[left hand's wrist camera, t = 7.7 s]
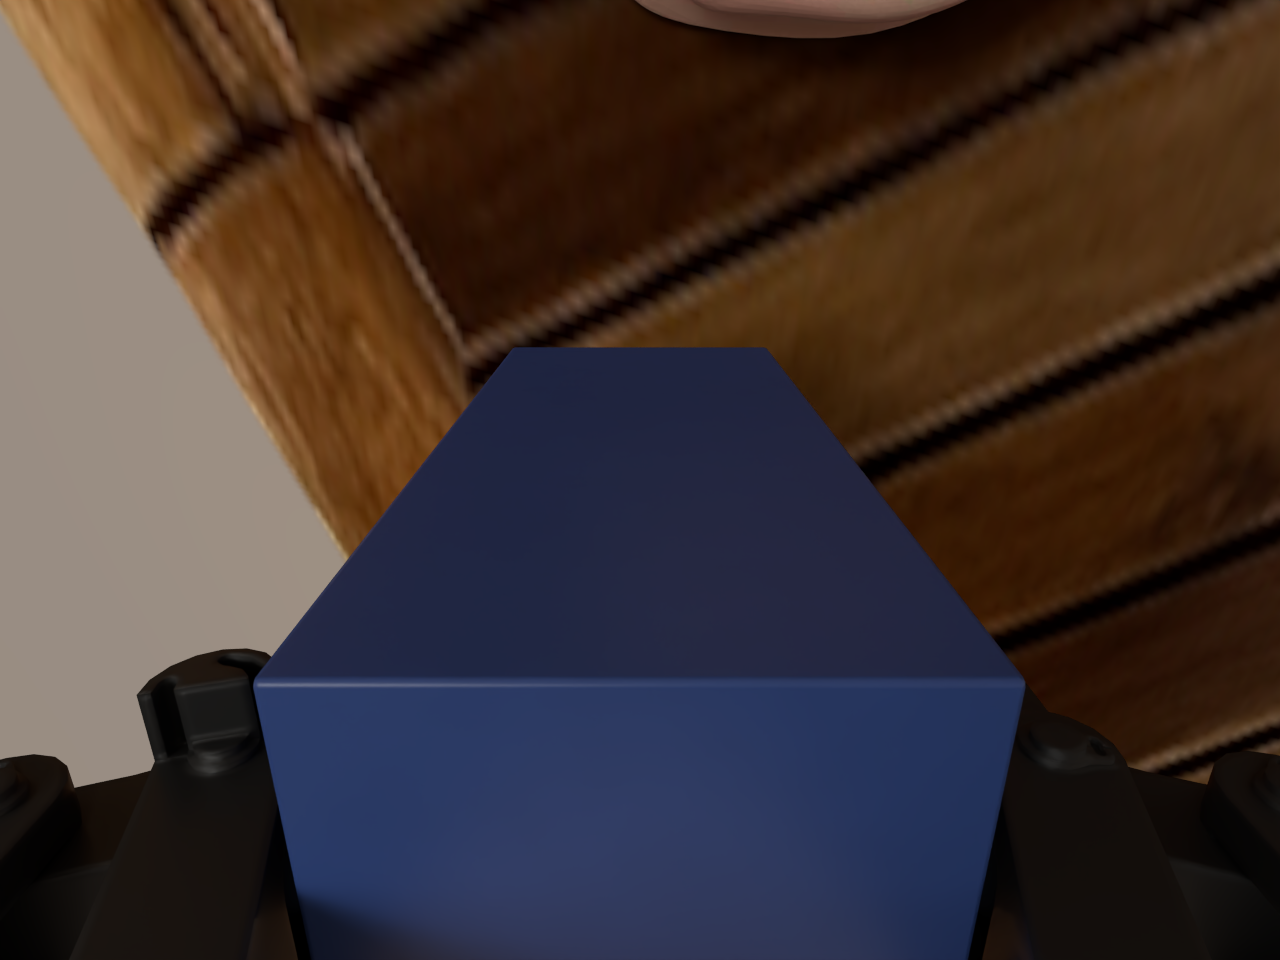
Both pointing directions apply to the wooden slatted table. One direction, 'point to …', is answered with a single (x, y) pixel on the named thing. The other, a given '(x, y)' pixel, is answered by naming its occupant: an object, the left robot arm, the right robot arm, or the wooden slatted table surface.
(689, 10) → the anatomical model
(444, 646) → the block
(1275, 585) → the wooden slatted table surface
